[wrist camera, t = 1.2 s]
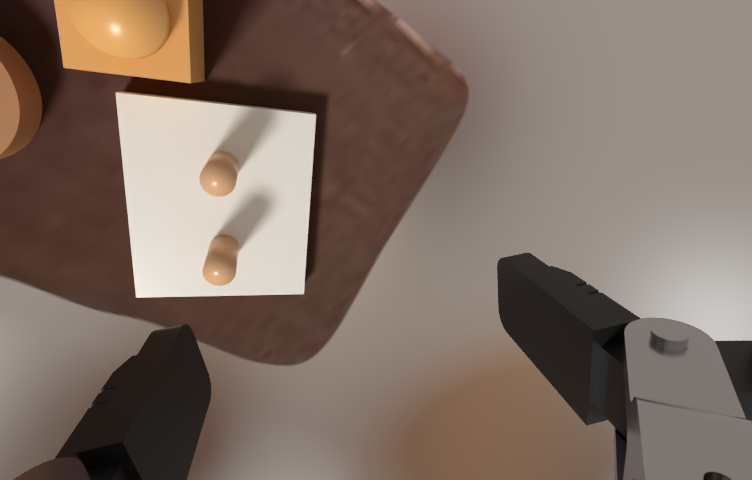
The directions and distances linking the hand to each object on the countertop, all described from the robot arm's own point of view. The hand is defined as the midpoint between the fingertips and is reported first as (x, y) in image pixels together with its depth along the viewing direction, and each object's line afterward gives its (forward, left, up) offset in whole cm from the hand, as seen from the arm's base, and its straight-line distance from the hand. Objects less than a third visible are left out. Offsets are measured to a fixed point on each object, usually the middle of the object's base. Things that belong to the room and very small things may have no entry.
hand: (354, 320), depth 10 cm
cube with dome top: (-9, +8, -22) cm, 24 cm away
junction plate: (-5, -3, -21) cm, 22 cm away
